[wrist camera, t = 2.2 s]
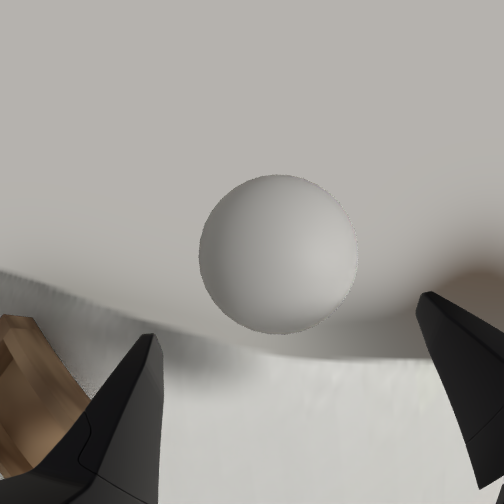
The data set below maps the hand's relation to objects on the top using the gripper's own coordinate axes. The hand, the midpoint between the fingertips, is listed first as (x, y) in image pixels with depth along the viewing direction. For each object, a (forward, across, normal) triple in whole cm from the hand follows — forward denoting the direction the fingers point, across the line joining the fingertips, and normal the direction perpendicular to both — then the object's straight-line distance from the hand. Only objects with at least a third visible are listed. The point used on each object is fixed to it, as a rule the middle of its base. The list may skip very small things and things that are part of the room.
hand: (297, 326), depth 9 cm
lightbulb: (+9, 0, +5) cm, 11 cm away
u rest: (+3, +19, +11) cm, 22 cm away
